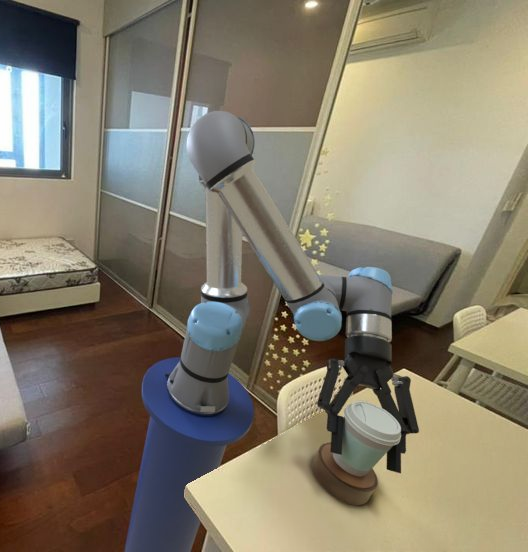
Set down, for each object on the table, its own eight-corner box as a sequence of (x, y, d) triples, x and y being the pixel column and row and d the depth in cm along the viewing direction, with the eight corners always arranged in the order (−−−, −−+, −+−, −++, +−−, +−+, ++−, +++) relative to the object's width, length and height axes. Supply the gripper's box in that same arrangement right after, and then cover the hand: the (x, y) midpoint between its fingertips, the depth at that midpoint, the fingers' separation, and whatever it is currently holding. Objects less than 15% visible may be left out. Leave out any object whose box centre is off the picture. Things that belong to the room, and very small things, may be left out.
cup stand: (304, 474, 63) (311, 459, 62) (321, 447, 70) (328, 433, 68) (361, 517, 57) (371, 502, 55) (374, 482, 64) (383, 468, 62)
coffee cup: (338, 436, 67) (361, 392, 62) (384, 471, 60) (413, 426, 56) (315, 452, 63) (338, 407, 58) (362, 492, 56) (392, 445, 51)
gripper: (415, 357, 66) (418, 479, 58) (304, 331, 71) (293, 440, 63) (443, 351, 59) (451, 488, 51) (318, 322, 64) (307, 444, 56)
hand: (364, 462), depth 57 cm, fingers closed on coffee cup, 8 cm apart
